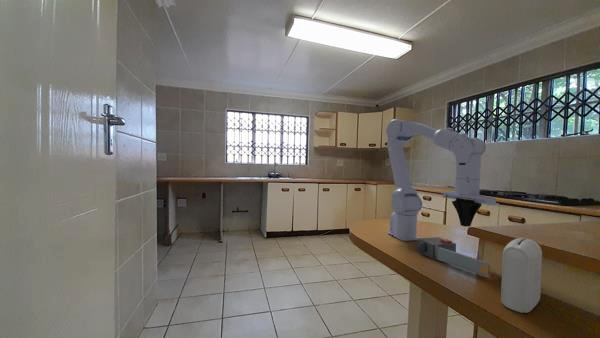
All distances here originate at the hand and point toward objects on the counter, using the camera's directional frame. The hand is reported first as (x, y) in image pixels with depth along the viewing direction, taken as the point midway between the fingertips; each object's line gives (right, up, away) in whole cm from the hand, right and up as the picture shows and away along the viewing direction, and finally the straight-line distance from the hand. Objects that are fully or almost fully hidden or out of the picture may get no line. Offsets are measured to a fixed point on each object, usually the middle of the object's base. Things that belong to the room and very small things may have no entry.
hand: (465, 225), depth 66 cm
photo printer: (-5, -10, -22) cm, 24 cm away
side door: (-7, -9, -7) cm, 13 cm away
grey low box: (-7, -9, +3) cm, 12 cm away
